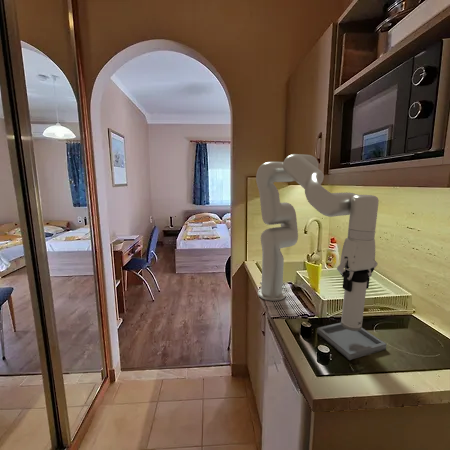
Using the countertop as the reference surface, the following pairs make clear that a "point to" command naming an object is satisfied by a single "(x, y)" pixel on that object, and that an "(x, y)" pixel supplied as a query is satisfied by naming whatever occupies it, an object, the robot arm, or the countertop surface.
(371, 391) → the countertop surface
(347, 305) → the travel mug
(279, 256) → the robot arm
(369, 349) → the tray
